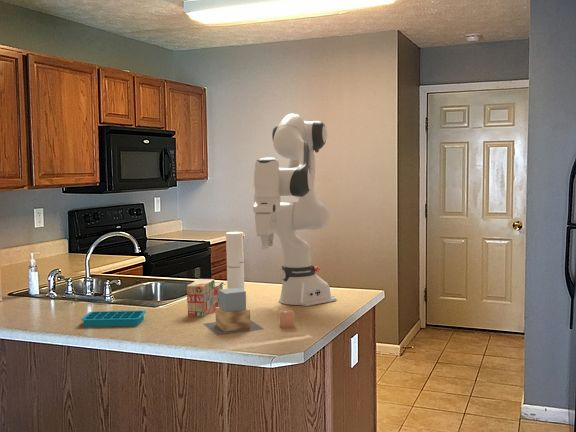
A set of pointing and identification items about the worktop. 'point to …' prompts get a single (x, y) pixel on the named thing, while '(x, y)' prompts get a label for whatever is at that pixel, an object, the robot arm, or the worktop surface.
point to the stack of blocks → (203, 297)
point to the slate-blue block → (232, 299)
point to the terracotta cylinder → (286, 318)
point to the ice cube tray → (113, 318)
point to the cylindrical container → (235, 260)
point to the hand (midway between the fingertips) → (267, 247)
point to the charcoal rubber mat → (219, 331)
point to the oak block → (232, 319)
